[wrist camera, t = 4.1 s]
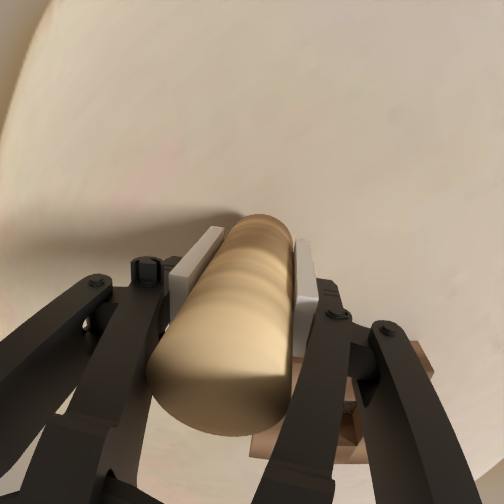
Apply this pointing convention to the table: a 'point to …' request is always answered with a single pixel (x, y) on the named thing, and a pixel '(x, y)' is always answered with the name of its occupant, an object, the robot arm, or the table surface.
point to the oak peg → (232, 337)
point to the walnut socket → (350, 430)
